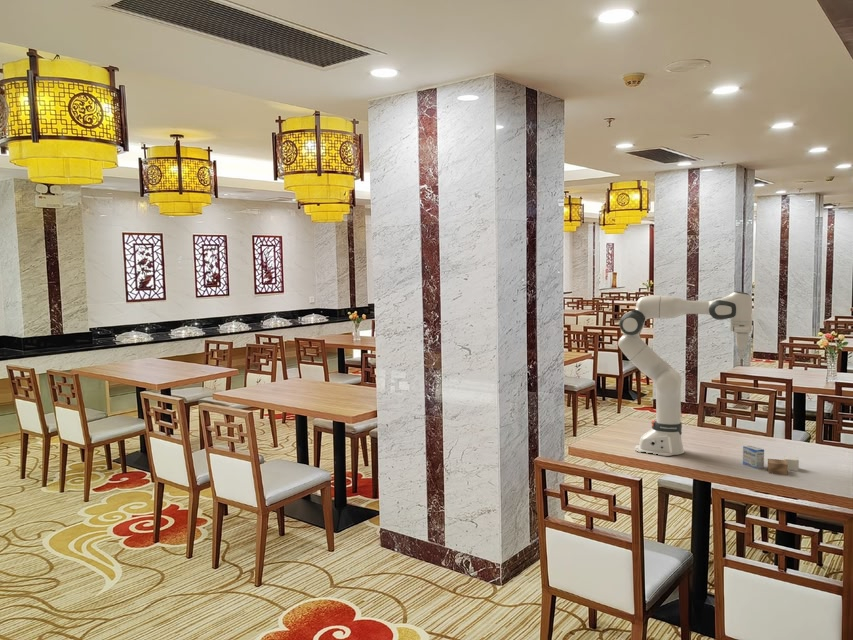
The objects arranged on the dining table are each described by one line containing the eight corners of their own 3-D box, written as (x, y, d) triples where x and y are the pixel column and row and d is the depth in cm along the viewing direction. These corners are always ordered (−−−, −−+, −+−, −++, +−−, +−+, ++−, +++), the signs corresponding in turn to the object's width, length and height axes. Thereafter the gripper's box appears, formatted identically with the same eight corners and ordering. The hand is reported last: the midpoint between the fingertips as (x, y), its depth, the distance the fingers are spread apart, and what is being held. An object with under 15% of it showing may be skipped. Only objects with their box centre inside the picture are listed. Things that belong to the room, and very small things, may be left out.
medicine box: (742, 465, 298) (742, 446, 298) (749, 463, 300) (750, 444, 299) (756, 469, 291) (756, 450, 290) (764, 468, 293) (764, 449, 292)
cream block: (785, 470, 289) (785, 459, 289) (784, 467, 294) (784, 456, 294) (798, 471, 287) (798, 460, 287) (797, 468, 292) (797, 457, 292)
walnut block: (768, 474, 285) (769, 462, 284) (767, 469, 291) (767, 458, 291) (787, 476, 282) (787, 464, 282) (785, 471, 288) (785, 460, 288)
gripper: (732, 325, 313) (732, 354, 314) (734, 329, 295) (734, 360, 296) (747, 325, 311) (747, 354, 312) (750, 329, 292) (750, 360, 293)
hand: (740, 357), depth 304 cm, fingers open, 8 cm apart
